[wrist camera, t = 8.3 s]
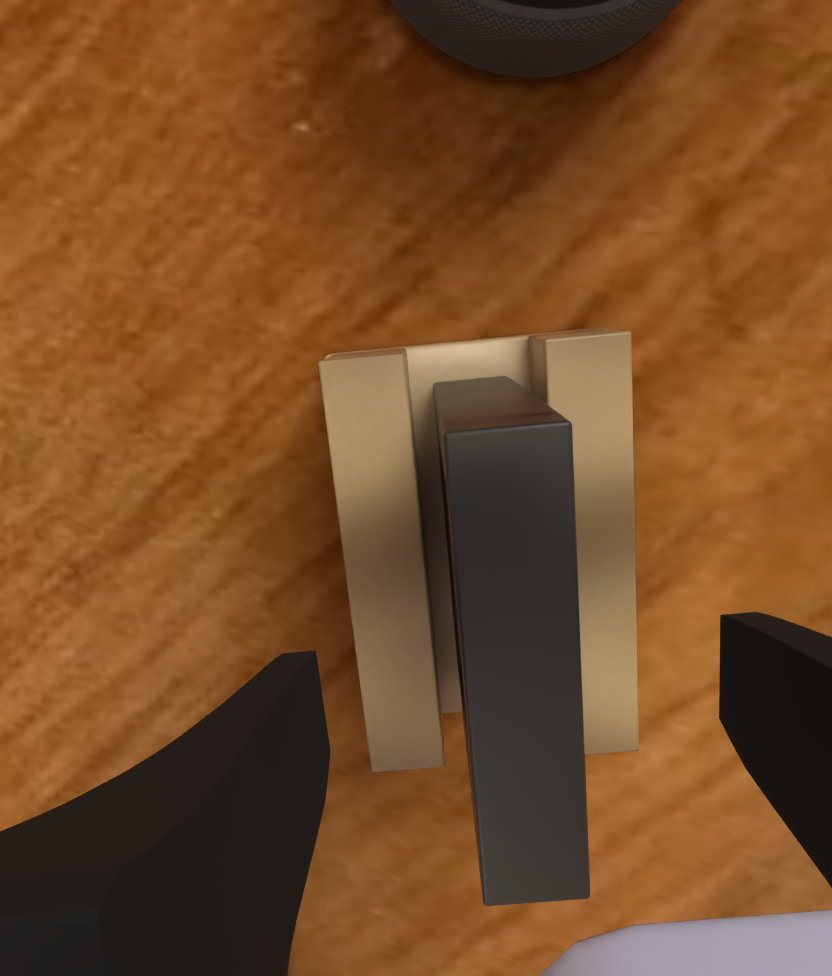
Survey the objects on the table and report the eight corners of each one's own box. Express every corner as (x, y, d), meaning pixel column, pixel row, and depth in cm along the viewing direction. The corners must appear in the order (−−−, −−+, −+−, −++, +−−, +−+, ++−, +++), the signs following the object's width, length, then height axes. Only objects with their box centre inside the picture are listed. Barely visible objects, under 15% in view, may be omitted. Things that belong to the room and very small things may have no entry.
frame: (459, 682, 20) (483, 908, 13) (432, 382, 18) (442, 432, 10) (525, 677, 20) (591, 900, 13) (507, 375, 18) (573, 420, 10)
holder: (611, 682, 22) (647, 751, 18) (372, 702, 22) (364, 774, 18) (601, 326, 19) (641, 329, 15) (328, 353, 19) (308, 362, 16)
